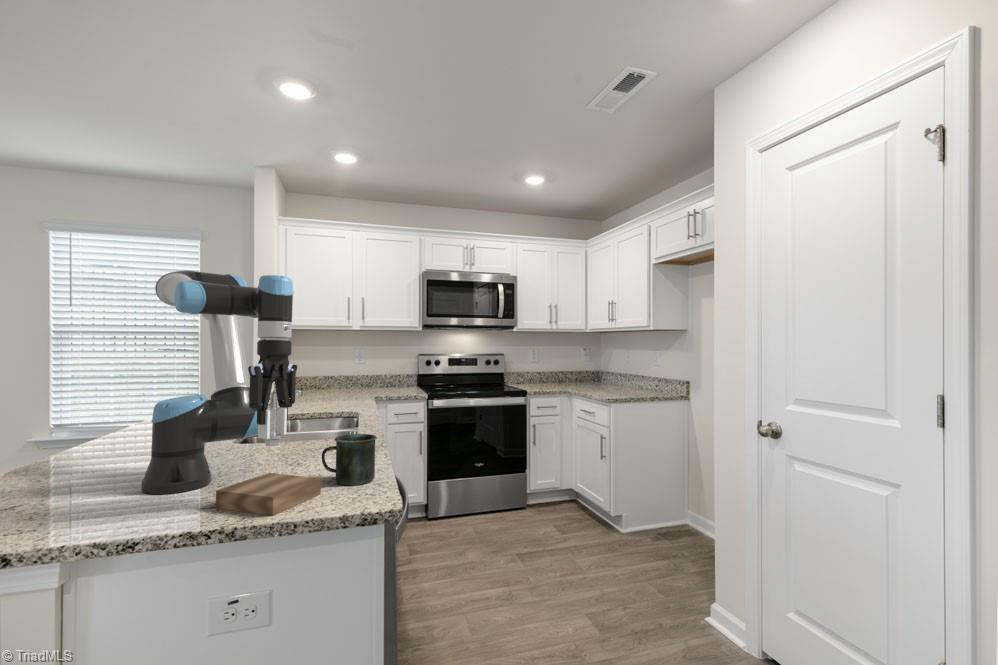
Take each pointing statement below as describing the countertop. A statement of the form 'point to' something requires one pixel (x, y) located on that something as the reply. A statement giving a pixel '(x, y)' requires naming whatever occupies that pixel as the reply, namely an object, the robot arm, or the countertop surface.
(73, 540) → the countertop surface
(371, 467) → the mug
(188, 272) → the robot arm
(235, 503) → the wooden block
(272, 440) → the screw
